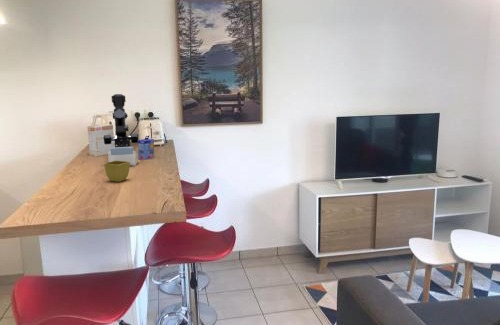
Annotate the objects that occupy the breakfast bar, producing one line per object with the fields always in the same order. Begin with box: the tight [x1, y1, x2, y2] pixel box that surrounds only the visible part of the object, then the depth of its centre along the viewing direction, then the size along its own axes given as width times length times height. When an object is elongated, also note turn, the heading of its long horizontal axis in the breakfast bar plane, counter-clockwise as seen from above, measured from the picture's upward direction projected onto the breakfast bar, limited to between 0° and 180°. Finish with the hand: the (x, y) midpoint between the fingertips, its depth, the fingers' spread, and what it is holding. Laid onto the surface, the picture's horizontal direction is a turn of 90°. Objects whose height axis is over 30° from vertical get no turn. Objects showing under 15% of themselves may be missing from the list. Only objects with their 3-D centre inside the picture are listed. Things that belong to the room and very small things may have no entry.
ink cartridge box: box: [137, 135, 155, 161], centre depth 254 cm, size 10×6×14 cm, turn 158°
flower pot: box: [103, 161, 131, 183], centre depth 197 cm, size 9×9×9 cm
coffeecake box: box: [86, 123, 115, 158], centre depth 270 cm, size 15×7×20 cm, turn 144°
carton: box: [107, 150, 138, 166], centre depth 239 cm, size 13×15×6 cm
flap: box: [110, 146, 134, 155], centre depth 229 cm, size 1×12×7 cm
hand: (122, 151), depth 229 cm, fingers closed, pressing on flap
